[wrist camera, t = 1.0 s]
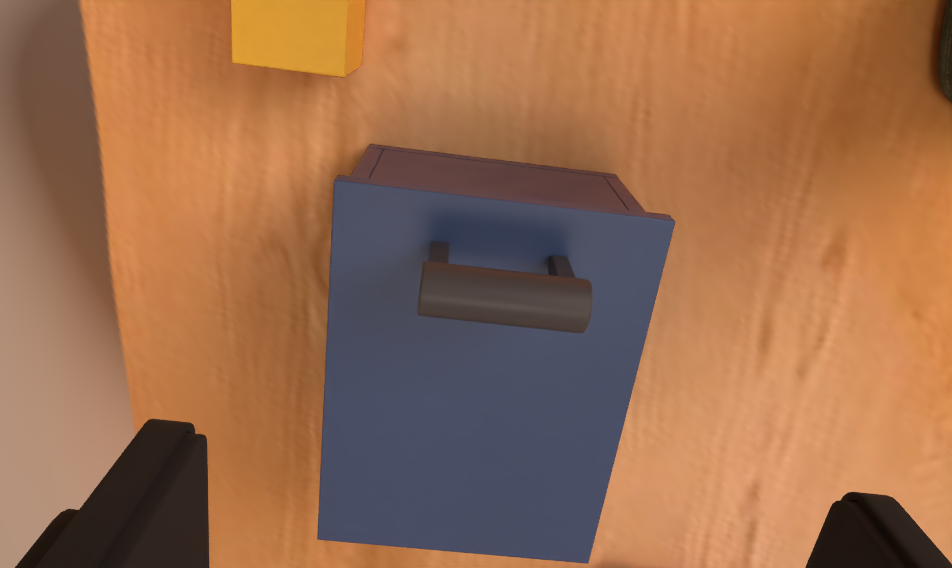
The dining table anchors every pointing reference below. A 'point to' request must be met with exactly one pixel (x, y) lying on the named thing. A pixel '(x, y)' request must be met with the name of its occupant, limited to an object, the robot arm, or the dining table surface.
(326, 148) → the dining table surface
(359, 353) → the lid
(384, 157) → the cool box
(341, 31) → the cheese block
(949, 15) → the coffee jar
